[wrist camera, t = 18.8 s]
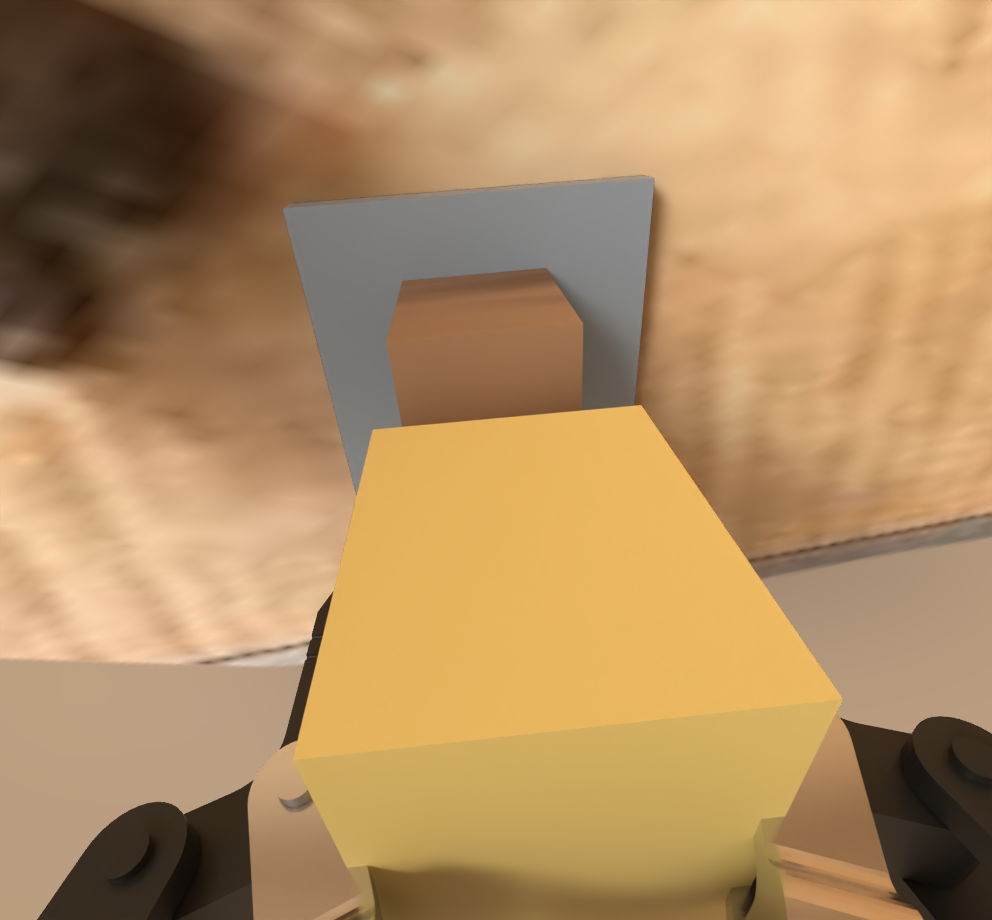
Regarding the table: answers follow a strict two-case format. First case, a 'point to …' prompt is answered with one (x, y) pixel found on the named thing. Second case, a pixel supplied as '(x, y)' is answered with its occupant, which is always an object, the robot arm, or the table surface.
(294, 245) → the slate baseplate
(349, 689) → the mustard brick
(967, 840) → the robot arm
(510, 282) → the walnut brick
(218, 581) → the table surface
